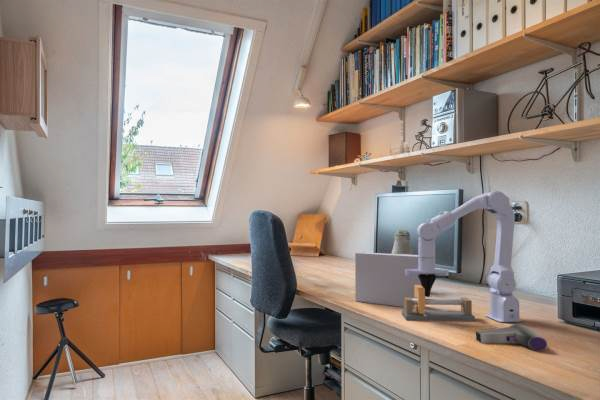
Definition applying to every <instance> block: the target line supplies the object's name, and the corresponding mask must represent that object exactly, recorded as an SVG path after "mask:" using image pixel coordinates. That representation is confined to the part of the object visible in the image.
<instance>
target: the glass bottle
mask: <svg viewBox="0 0 600 400" xmlns="http://www.w3.org/2000/svg"><path fill="white" fill-rule="evenodd" d="M393 238H394V242H393V246H392V250H391V254H409V255H413V251H412V248H411V234H410V232H409V231H408V230H403V229H401V230H396V231H395V232H394V236H393Z"/></svg>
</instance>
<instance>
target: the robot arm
mask: <svg viewBox="0 0 600 400" xmlns="http://www.w3.org/2000/svg"><path fill="white" fill-rule="evenodd" d="M480 209H481V210H485V211H487V212H489V213H491V214H492V215H493V217H495V218H496V219H497V224H496V235H495V236H496V237H495V238H496V239H495V248H494V261H493V265H492V266H491V267H490V272H489V274H488V276H487V279H486V281H487V282H486V283H487V285H488V286H489V287H490V289H489V313H488V314H487V313H485V314H484V316H485V317H487V318H490V319H492V320H495V321H497V322H499V323H514V322H515V323H516V322H518V323H519V322H523V320H522V319H521V318H520V302H519V301H520V300H519V299H518V298H517V297H516V296H514V291H515V290H516V287H517V282H516V280H515V278H514V277H515V276H514V275H515V272H514V270H513V268H512V266H511V265H512V253H513V243H514V230H515V220H516V219H515V218H516V215H515V211H514V209H513V208H512V205H511V204H510V198H509V197H508V195H506V194H505V193H503V192H502V191H499V190H496V191H491V192H490V191H486V192H483V193H481V194H479V195H477V196H474V197H473V198H471V199H470V200H467V201H466V202H465V203H463V204H462V205H460V206H458V207H457V208H455V209H453V210H452V211H446V210H445V211H440V212H438V214H437V215H436V216H434V217H433V218H431V219H430V218H428V219H427V220H426V222H423V223H421V224H419V225H418V227H417V229H416V231H415V232H416V235H417V237H418V241H417V242H418V244H417V248H418V249H417V250H418V251H417V252H418V253H417V255H418V269H405V275H407V276H409V275H418V277H419V279H420V281H421V284H422V287H423V288H425V298H430V297H431V296H430V295H431V290H432V289H433V286H434V283H435V282H436V279H437V277H436V276H438V277H439V276H442V277H443V276H444V277H449V274H450V273H449V270H448V269H441V268H440V269H437V268H436V237H437V235H440V234H441V233H443V232H444V231H446V230H448V229H450V228H452V227H453V226H455V225H456V222H457V220H458V219H460V218H462V217H464V216H465V215H468V214H469V213H472V212H473V211H475V210H480ZM422 273H425V274H422Z"/></svg>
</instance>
